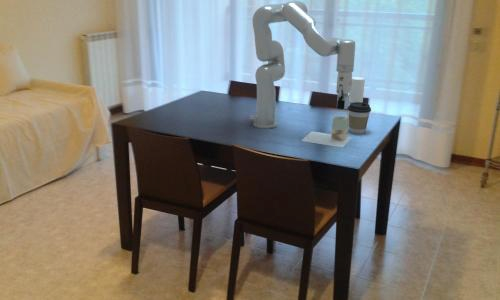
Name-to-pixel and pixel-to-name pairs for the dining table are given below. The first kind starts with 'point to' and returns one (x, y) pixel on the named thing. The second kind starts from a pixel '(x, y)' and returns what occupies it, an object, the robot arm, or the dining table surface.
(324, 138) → the white rectangular slab
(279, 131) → the dining table surface
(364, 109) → the coffee cup
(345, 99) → the pale white cylinder
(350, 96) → the cylindrical container
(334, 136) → the bottom block
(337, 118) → the top block
